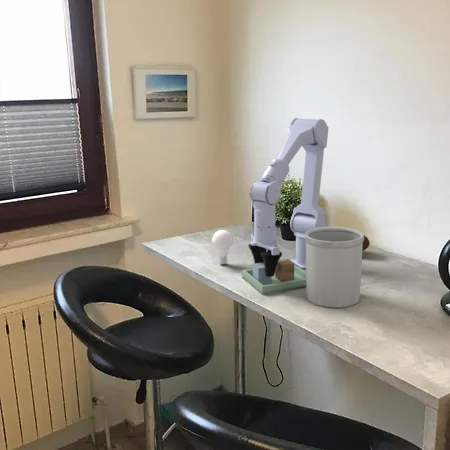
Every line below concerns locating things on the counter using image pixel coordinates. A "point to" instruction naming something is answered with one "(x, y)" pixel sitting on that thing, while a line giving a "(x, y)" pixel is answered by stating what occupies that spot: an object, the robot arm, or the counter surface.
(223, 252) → the lightbulb
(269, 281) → the bluegrey block
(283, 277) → the walnut block
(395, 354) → the counter surface
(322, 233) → the utensil holder
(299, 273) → the tray
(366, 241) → the potato
